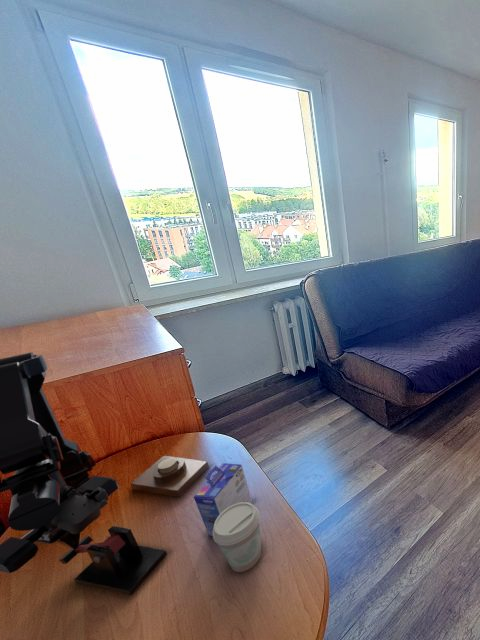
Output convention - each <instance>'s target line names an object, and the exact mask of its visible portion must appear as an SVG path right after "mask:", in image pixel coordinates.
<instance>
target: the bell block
mask: <svg viewBox="0 0 480 640" xmlns="http://www.w3.org/2000/svg"><path fill="white" fill-rule="evenodd" d="M168 458H175V459H176V460H177V463H178V466H177V467H176V468H175V469H174V470H173V471H171V472H169V473H164V474H161V473H160V472H159V469H158V465H159V463H160V462H162V461H163V460H165V459H168ZM209 468H210V467H209V463H208V461H206V460H200V459H199V460H198V459H192V458H185V457H178V456H169V455H163V456H162V457H161V458H159V459H158V460H157V461H155V462H154V463H153V464H152V465H151V466H150V467H149V468H147V469H146V470H145V471H144V472H142V473H141V474H140V475H139V476H137V477H136V478H135V479H134V480H132V481H131V482H130V486H131V488H132V490H133V491H138V492H146V493H151V494H158V495H164V496H171V497H177V498H180V497H181V496H182V495H183V494H184V493H185V492H186V491H187V490H188V489H190V487H191V486H192V485H193V484H194V483H195V482H196V481H197V480H198V479H199V478H200V477H201V476H202V475H203V474H204V473H205V472H206V471H207V470H208V469H209Z"/></svg>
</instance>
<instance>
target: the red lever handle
mask: <svg viewBox="0 0 480 640" xmlns="http://www.w3.org/2000/svg"><path fill="white" fill-rule="evenodd" d="M93 541H94V539H93V538H92V537H91V536H90V535H87V536H84V537H83V538H82V539H80V541H79V545H78V546H77V547H76V548H75V549H72V548H70V549H69V550H68V551H67V552H66V553H65V554H64V555H62V556H61V557H60V558H59V559H58V561H59V563H61V564H62V565H67V564H68V563H69V562H71V561H72V560H73V559H74V558H75V557H76V556H78V554H84V553H88V552H87V550H86V549H87V548H89V547H90V546H91V545H96V546H101V547H106V548H111V550H112V552H113V554H115V553H116V552H117V551H118V550H119V549H121V548H122V547H123V546H124V545H125V544H126V543H125V542H124V541H123V540H122V538H121V537H120V536H119V535H117V536H110V535H109V537H107V538H106V539H105V540H104V541H102V542H93ZM92 542H93V543H92Z"/></svg>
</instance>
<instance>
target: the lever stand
mask: <svg viewBox="0 0 480 640" xmlns="http://www.w3.org/2000/svg"><path fill="white" fill-rule="evenodd" d="M107 531H108V534H109V537H110V536H117V535H119V536H120V537H121V538H122V540H123V541H124V542H125V543H126V544H125V545H124V546H123V547H122V548H121V549H119V550H118V551H117V552H116V553H115V554H113V552H112V550H111V548H106V547H101V546H96V545H91V546H90V547H89V548H87V549H86V550H87V552H86V553H88V556H89V558H90V559H91V561H92V562H91V563H89V565H88V566H86V567H85V568H84V569H83V570H82V571H81V572H80V573H79V574H78V575H77V576H76V577H75V578H74V579H73V580H74V582H75V584H78V585H83V586H87V587H92V588H97V589H102V590H105V591H111V592H116V593H121V594H125V595H129V596H132V595H133V594H134V592H135V591H136V590H137V589H138V588H139V587H140V586H141V585H142V583H143V582H144V581H145V580H146V579H147V578H148V577H149V576H150V574H152V572H153V571H154V570H155V569H156V567H158V565H159V564H160V563H161V562H162V561H163V559H164V558H165V557H167V555H168V552H167V550H166V549H161V548H155V547H150V546H144V545H140V544H138V542H137V540H136V538H135V536H134V533H133V531H132V529H131V528H127V527H121V526H115V525H112V526H111V527H110V528H108V530H107Z"/></svg>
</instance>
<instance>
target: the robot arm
mask: <svg viewBox="0 0 480 640" xmlns="http://www.w3.org/2000/svg"><path fill="white" fill-rule="evenodd" d="M47 370H48V365H47V362H46V360H45V358H44V356H43V355H42V354H40V355H38V354H34V353H33V352H32V351H31V352H26V353H21V354H16V355H12V356H7V357H3V358H2V357H1V358H0V474H2V475H8V474H11V473H13V475H11V476H8V477H5V478H3V479H2V476H1V475H0V494H2V493H4V492H7V491H10V493H11V501H10V506H9V510H8V511H9V512H8V518H7V525H8V527H9V528H10V529H12V530H15V531H20V532H26V531H27V533H26V534H24V535H23V536H21V537H20V538H18V537H14V536H10V537H9V538H7V539H5V541H3V542H1V543H0V572H2V573H7V574H12V573H15V572H17V571H18V570H20V569H21V568H22V567H23V566H24V565H26V564H27V563H28V562H29V561H31V560H32V559H33V558H34V557H35V556H36V555H37V553H38V551H39V546H38V545H37V544H36V543H41V544H46V545H52V544H55V543H57V544H60V545H61V546H65V547H67V548H70V549H75V548H76V547H77V546H78V545H79V542H80V541H81V539H80V538H81V533H82V532H83V531H84V530H86V528H87V527H88V526H90V525H91V524H92V523H94V521H96V520H98V519H99V518H100V517H101V515H102V513H101V510H102V509H103V508H104V507H105V506H107V505H108V504H109V503H108V501H109V496H110V495H112V494H114V492H116V491H117V490H118V489H119V488H120V487H119V486H120V485H119V483H118V480H116V479H115V477H109V476H102V475H93V476H92V477H90V474H89V472H91V471H93V468H94V467H95V466H96V465H97V463H96V461H95V459H94V457H93V456H92V455H91V454H90V453H89V452H88V451H86V450H85V449H84V450H81V447H80V445H79V443H77V442H75V441H72V440H70V439H67V438H66V437H65V435H64V433H63V431H62V429H61V426H60V424H59V422H58V420H57V418H56V415H55V414H54V411H53V409H52V407H51V405H50V403H49V401H48V399H47V397H46V394H45V392H44V390H43V388H42V387H43V385H44V382H45V380H46V375H47V373H46V371H47Z"/></svg>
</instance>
